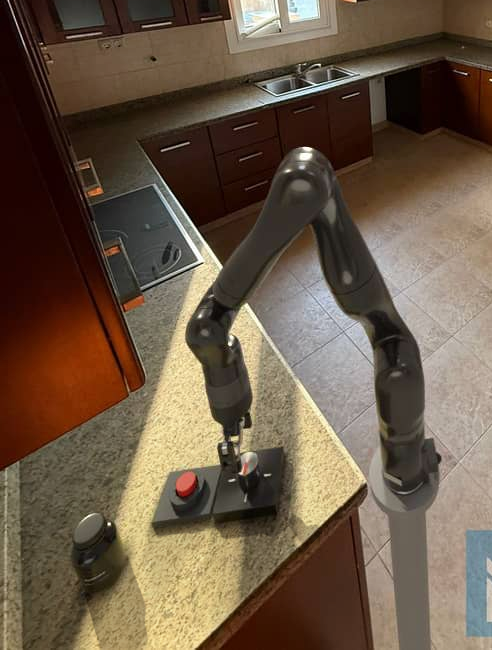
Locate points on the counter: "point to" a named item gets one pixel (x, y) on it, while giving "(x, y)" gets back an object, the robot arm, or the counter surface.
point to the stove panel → (251, 490)
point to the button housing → (188, 498)
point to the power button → (186, 484)
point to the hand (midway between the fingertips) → (241, 448)
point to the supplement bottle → (97, 553)
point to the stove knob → (249, 471)
